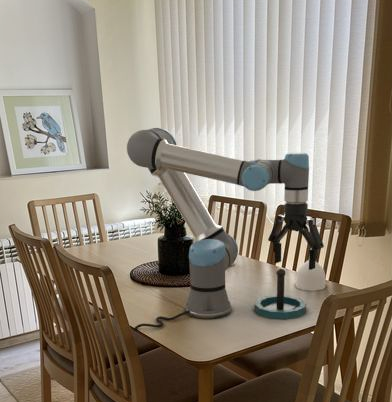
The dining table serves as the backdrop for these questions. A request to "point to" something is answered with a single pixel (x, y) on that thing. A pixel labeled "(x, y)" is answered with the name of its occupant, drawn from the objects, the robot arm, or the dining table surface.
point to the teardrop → (310, 277)
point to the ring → (280, 313)
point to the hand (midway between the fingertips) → (294, 265)
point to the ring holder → (280, 293)
